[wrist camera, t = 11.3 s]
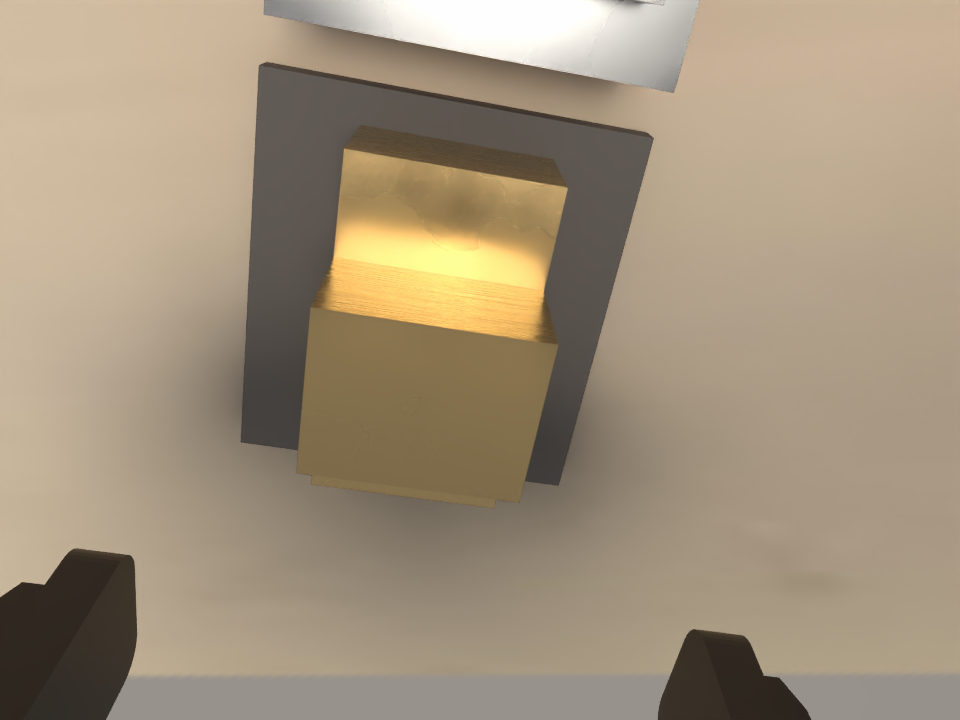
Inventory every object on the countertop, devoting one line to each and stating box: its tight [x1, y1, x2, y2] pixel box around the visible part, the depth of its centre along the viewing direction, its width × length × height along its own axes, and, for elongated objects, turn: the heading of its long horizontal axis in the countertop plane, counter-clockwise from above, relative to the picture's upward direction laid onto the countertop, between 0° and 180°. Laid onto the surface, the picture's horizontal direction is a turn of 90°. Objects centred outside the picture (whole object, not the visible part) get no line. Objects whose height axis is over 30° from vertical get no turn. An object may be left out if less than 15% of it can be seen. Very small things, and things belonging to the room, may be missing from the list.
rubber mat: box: [241, 62, 654, 485], centre depth 22 cm, size 10×11×1 cm
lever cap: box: [296, 125, 568, 508], centre depth 19 cm, size 5×9×6 cm, turn 170°
